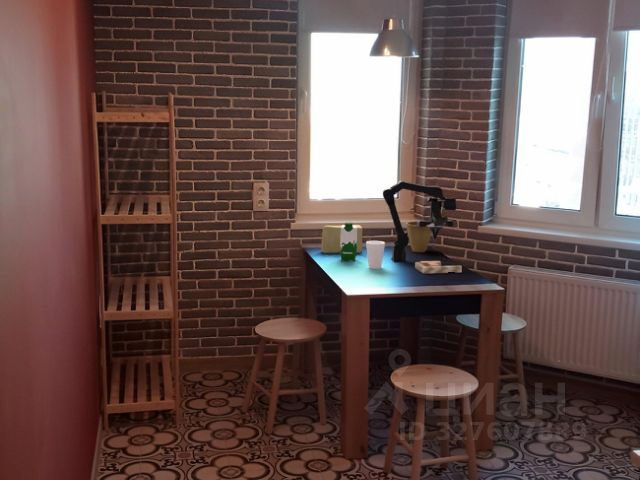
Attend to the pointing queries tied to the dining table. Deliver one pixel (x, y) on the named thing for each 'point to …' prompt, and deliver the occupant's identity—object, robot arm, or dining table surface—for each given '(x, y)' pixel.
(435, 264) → the t block
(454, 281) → the dining table surface
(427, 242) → the plant pot
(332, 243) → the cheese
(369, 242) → the foam cup
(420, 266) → the wooden l block
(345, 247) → the milk carton
